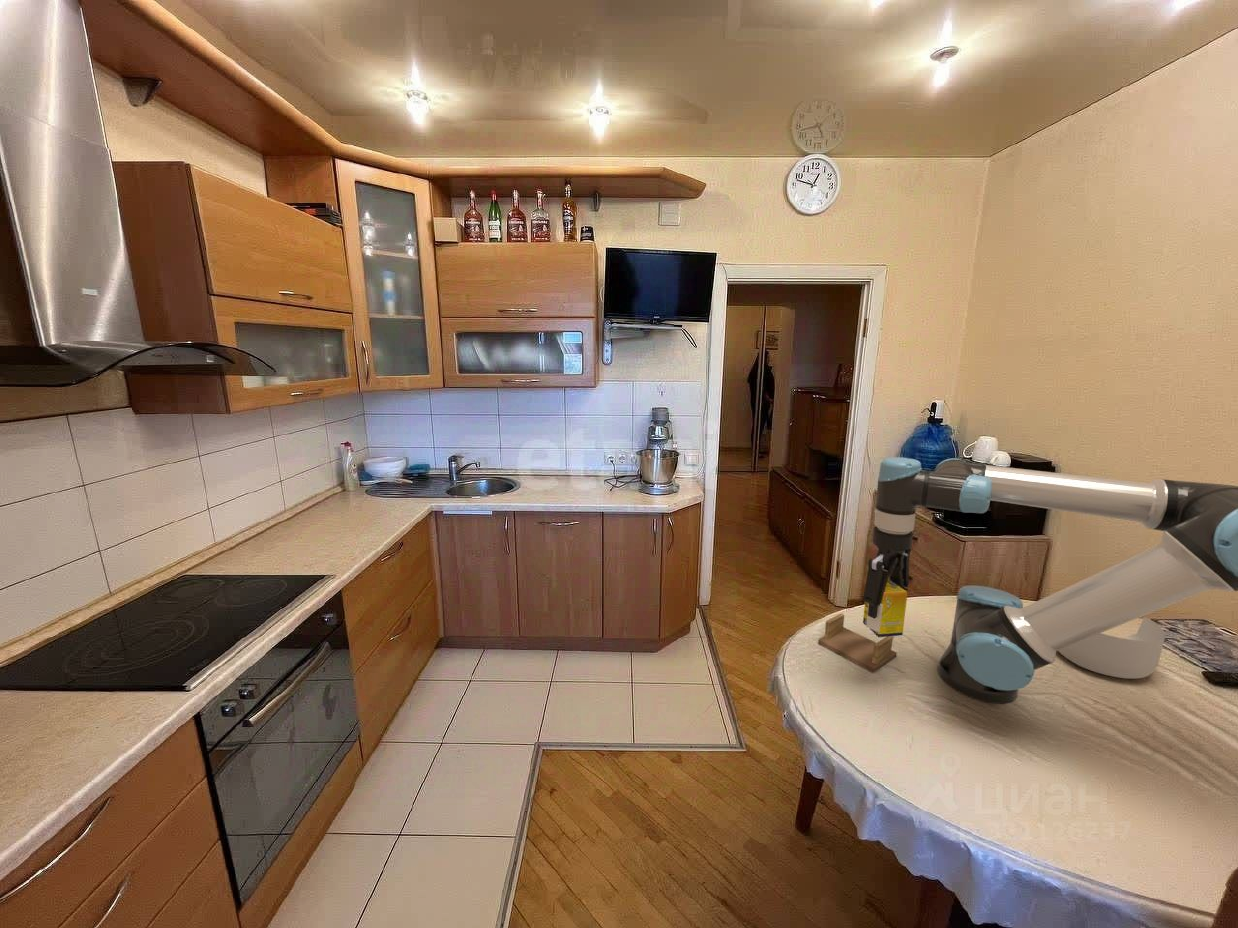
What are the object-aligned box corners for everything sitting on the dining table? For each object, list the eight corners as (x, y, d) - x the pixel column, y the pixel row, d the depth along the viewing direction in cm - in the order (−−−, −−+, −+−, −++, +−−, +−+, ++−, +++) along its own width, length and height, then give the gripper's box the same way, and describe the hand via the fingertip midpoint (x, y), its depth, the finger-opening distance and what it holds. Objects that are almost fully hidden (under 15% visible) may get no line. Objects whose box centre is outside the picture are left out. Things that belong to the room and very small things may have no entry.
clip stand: (896, 656, 122) (899, 635, 121) (873, 672, 116) (875, 650, 115) (841, 630, 134) (843, 610, 133) (818, 643, 128) (819, 622, 127)
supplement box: (862, 623, 112) (866, 580, 109) (886, 621, 112) (890, 578, 110) (877, 637, 106) (882, 592, 103) (903, 635, 106) (908, 591, 104)
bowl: (1064, 675, 114) (1073, 630, 111) (1031, 632, 131) (1038, 593, 129) (1177, 695, 107) (1190, 648, 104) (1127, 647, 124) (1137, 606, 121)
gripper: (899, 514, 112) (889, 602, 117) (850, 534, 101) (841, 630, 106) (934, 523, 106) (922, 615, 111) (886, 544, 95) (875, 646, 100)
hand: (882, 622), depth 109 cm, fingers closed on supplement box, 8 cm apart
